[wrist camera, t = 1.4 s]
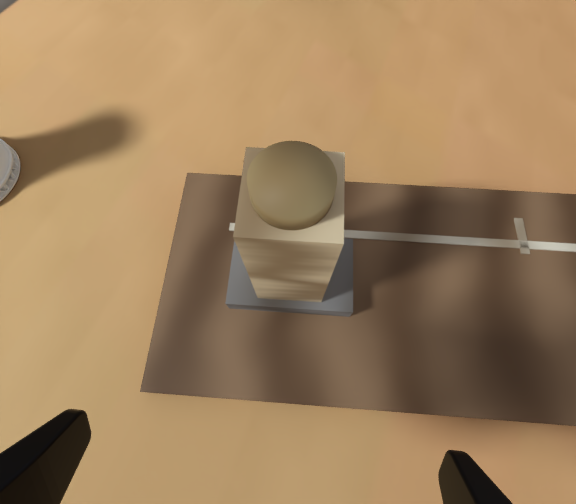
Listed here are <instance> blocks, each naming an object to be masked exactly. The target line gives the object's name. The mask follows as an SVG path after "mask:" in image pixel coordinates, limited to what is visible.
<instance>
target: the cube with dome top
mask: <svg viewBox="0 0 576 504" xmlns="http://www.w3.org/2000/svg"><path fill="white" fill-rule="evenodd" d="M344 180H345V152H328V151H322V150H321V149H319V148H317V147H316V146H313V145H311V144H308V143H305V142H300V141H284V142H279V143H276V144H273V145H271V146H269V147H267V148H252V147H246V151H245V158H244V165H243V172H242V178H241V185H240V192H239V199H238V206H237V213H236V220H235V227H234V234H233V238H234V246H233V253H232V260H231V267H230V274H229V281H228V288H227V295H226V302H225V304H226V305H227V306H228V307H229V309H243V310H258V311H272V312H287V313H301V314H316V315H330V316H344V317H349V316H350V315H351V314H352V313H353V239H349V238H344Z"/></svg>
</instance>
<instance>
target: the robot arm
mask: <svg viewBox="0 0 576 504" xmlns="http://www.w3.org/2000/svg"><path fill="white" fill-rule="evenodd" d="M90 438H91V429H90V425H89V422H88V418H87V414H86V412H85V411H83V410H76V409H68V410H66V411H64V412H62V413H60V414H59V415H57V416H56V417H54V418H53V419H51V420H50V421H48V422H47V423H45V424H44V425H42V426H41V427H39V428H38V429H36V430H35V431H33V432H32V433H30V434H29V435H27V436H26V437H24V438H23V439H21V440H20V441H18V442H17V443H15V444H14V445H12V446H11V447H9V448H8V449H6V450H5V451H3V452H2V453H0V504H60V503H61V501H62V499H63V496H64V494H65V492H66V490H67V488H68V486H69V484H70V482H71V480H72V478H73V475H74V473H75V471H76V469H77V467H78V465H79V463H80V461H81V459H82V457H83V454H84V452H85V450H86V448H87V446H88V444H89V442H90ZM438 478H439V485H440V490H441V494H442V499H443V504H512V503H511V501H510V500H509V499H508V498H507V497H506V496H505V495H504V494H503V493H502V491H501V490H500V489H499V488H498V487H497V486H496V485H495V484H494V483H493V481H492V480H491V479H490V478H489V477H488V476H487V475H486V474H485V473H484V471H483V470H482V469H481V468H480V467H479V466H478V465H477V464H476V462H475V461H474V460H473V459H472V458H471V457H470V456H469V455H468V454H467V453H465V452H463V451H455V450H448V451H447V452H446V454H445V456H444V459H443V462H442V464H441V467H440V469H439V477H438Z"/></svg>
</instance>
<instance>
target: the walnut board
mask: <svg viewBox="0 0 576 504" xmlns="http://www.w3.org/2000/svg"><path fill="white" fill-rule="evenodd" d="M241 178H242V176H236V175H218V174H200V173H187V177H186V181H185V186H184V191H183V195H182V200H181V204H180V209H179V214H178V218H177V223H176V228H175V232H174V237H173V242H172V246H171V251H170V255H169V260H168V265H167V269H166V274H165V279H164V283H163V288H162V292H161V297H160V302H159V306H158V311H157V316H156V320H155V325H154V330H153V334H152V339H151V343H150V348H149V353H148V357H147V362H146V367H145V371H144V376H143V380H142V385H141V390H140V392H150V393H162V394H175V395H188V396H200V397H213V398H226V399H239V400H251V401H264V402H277V403H290V404H302V405H315V406H328V407H340V408H353V409H366V410H379V411H391V412H404V413H417V414H430V415H442V416H455V417H468V418H480V419H493V420H506V421H519V422H531V423H544V424H557V425H569V426H576V194H560V193H542V192H524V191H506V190H488V189H470V188H452V187H434V186H416V185H398V184H380V183H362V182H344V238H349V239H353V313H352V314H351V315H350V316H349V317H344V316H330V315H316V314H301V313H287V312H272V311H258V310H243V309H229V307H228V306H227V305H226V304H225V302H226V295H227V288H228V281H229V274H230V267H231V260H232V253H233V246H234V238H233V234H234V227H235V220H236V213H237V206H238V199H239V192H240V185H241Z"/></svg>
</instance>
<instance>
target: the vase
mask: <svg viewBox="0 0 576 504" xmlns="http://www.w3.org/2000/svg"><path fill="white" fill-rule="evenodd" d="M19 174H20V159H19V157H18V154H17V153H16V151H15V150H14V149H13V148H12V147H10V146H9V145H8V144H7V143H6V142H4V141H3V140H2V139H0V201H1V200H3V199H4V198H5V197H6V196H7V195H8V194H9V192H10V191H11V190H12V188H13V187H14V185H15V184H16V182H17V180H18V177H19Z"/></svg>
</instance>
